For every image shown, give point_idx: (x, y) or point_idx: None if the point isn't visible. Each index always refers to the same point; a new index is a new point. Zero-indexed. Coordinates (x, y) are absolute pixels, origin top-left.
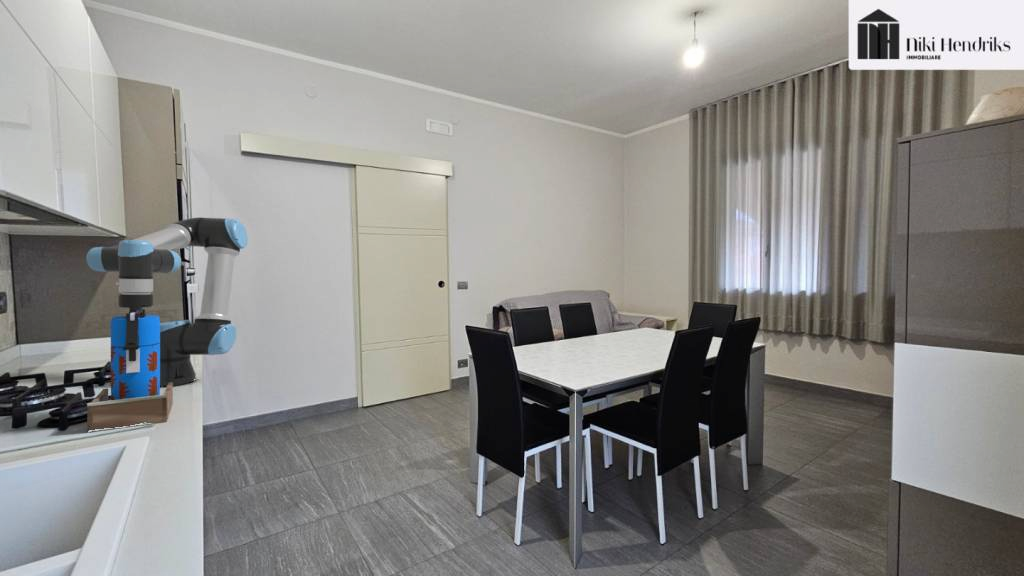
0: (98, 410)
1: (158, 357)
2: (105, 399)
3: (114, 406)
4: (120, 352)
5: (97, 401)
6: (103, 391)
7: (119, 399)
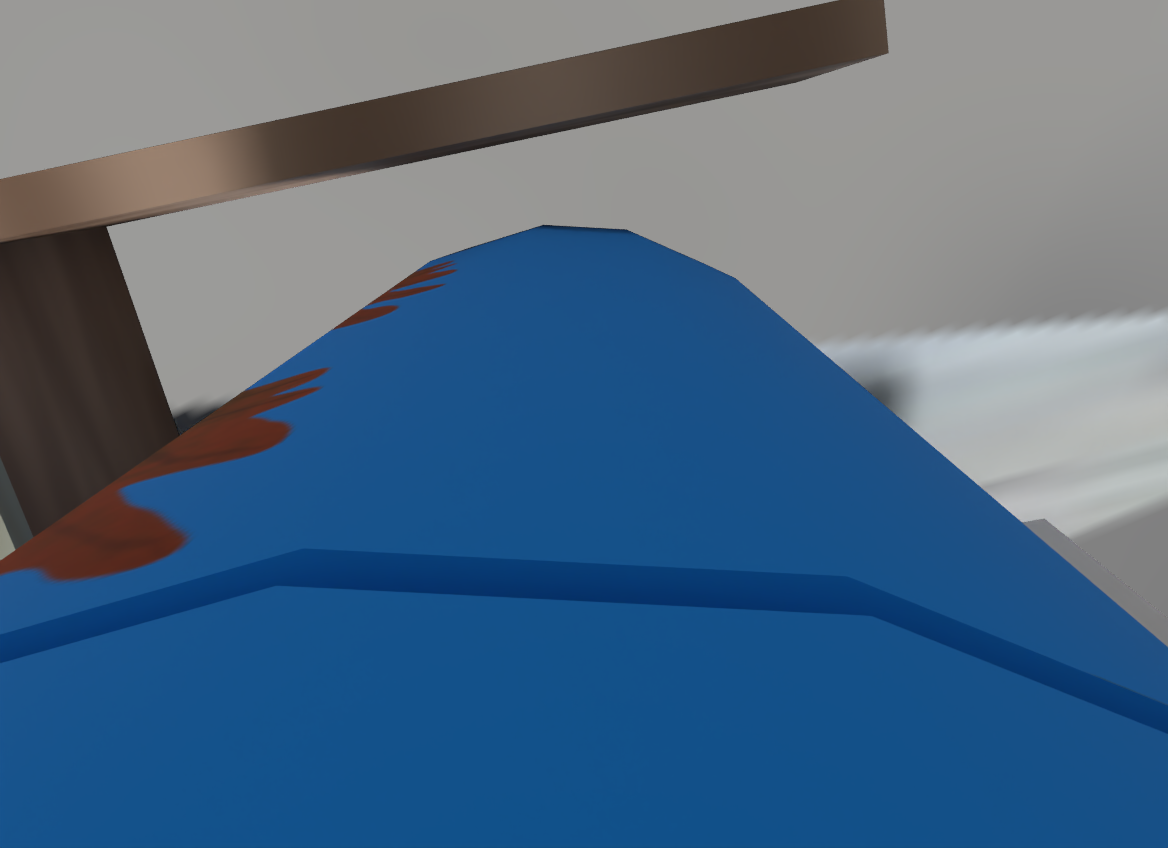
0: None
1: None
2: (660, 105)
3: None
4: None
5: (146, 208)
6: (683, 67)
7: (3, 514)
